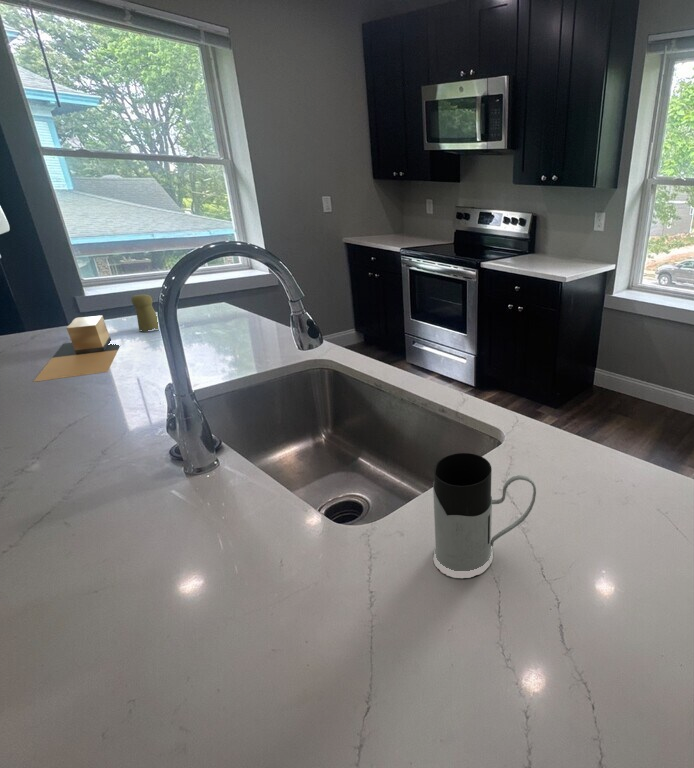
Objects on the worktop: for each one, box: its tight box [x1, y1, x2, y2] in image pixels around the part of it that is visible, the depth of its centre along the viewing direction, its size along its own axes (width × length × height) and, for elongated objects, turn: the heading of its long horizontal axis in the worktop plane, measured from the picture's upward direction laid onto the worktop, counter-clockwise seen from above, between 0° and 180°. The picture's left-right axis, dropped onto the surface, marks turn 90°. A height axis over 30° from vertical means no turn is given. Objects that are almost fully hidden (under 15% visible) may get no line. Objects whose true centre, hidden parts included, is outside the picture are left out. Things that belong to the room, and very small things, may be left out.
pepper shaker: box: [131, 293, 158, 331], centre depth 145 cm, size 6×6×11 cm
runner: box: [32, 342, 121, 383], centre depth 126 cm, size 14×29×1 cm, turn 30°
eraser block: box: [66, 315, 111, 354], centre depth 131 cm, size 6×10×8 cm, turn 29°
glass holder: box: [432, 452, 537, 571], centre depth 64 cm, size 9×14×15 cm, turn 93°
